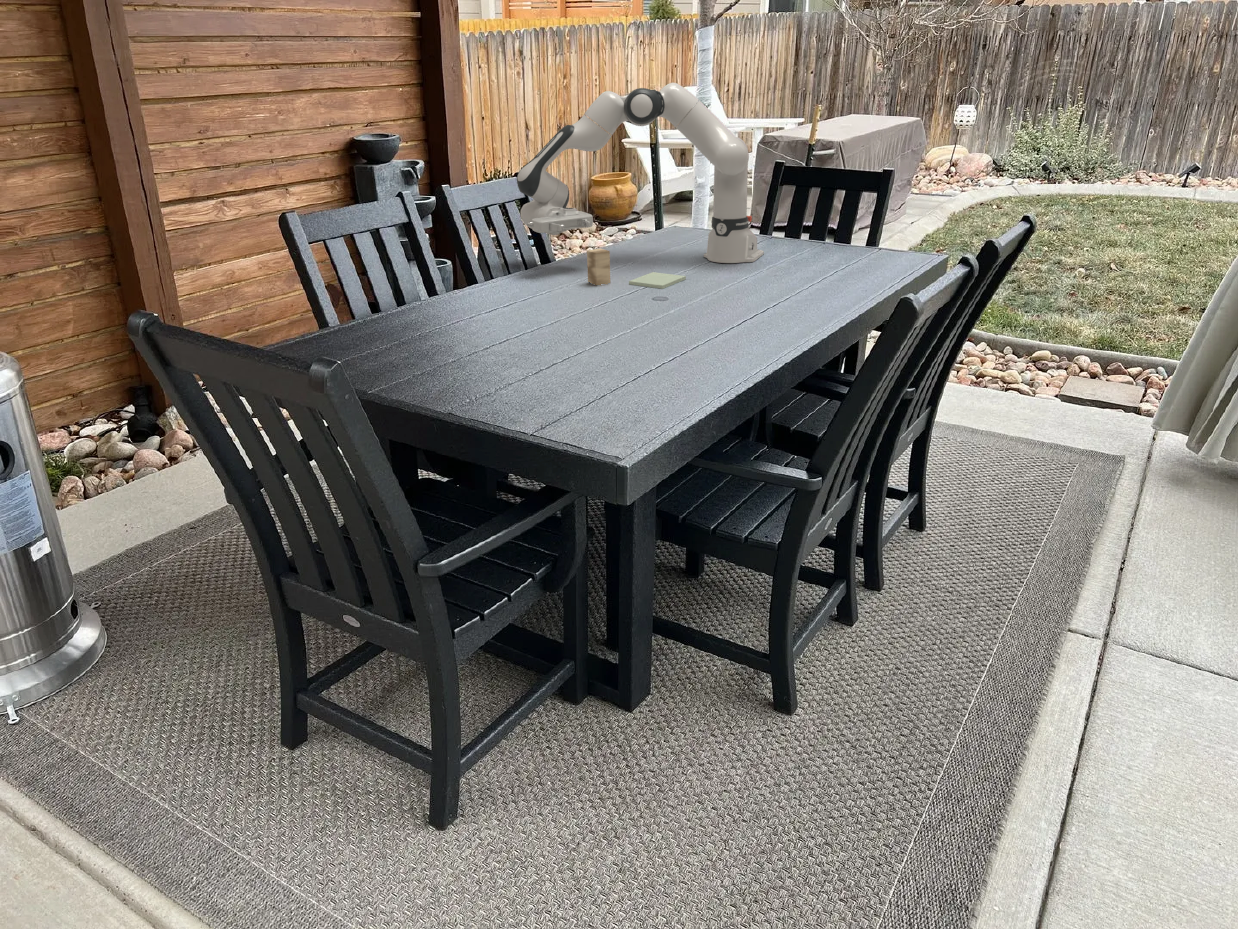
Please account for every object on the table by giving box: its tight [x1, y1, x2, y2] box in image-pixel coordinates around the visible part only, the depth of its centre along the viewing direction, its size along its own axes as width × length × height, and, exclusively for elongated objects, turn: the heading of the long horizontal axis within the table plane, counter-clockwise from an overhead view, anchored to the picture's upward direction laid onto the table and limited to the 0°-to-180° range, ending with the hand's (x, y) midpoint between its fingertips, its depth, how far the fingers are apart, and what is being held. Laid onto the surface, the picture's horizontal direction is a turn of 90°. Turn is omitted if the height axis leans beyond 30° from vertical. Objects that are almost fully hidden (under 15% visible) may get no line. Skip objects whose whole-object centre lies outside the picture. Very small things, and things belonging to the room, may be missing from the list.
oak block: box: [586, 248, 611, 286], centre depth 282 cm, size 5×5×10 cm
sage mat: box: [628, 271, 687, 290], centre depth 284 cm, size 14×12×1 cm
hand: (575, 226), depth 287 cm, fingers open, 8 cm apart
